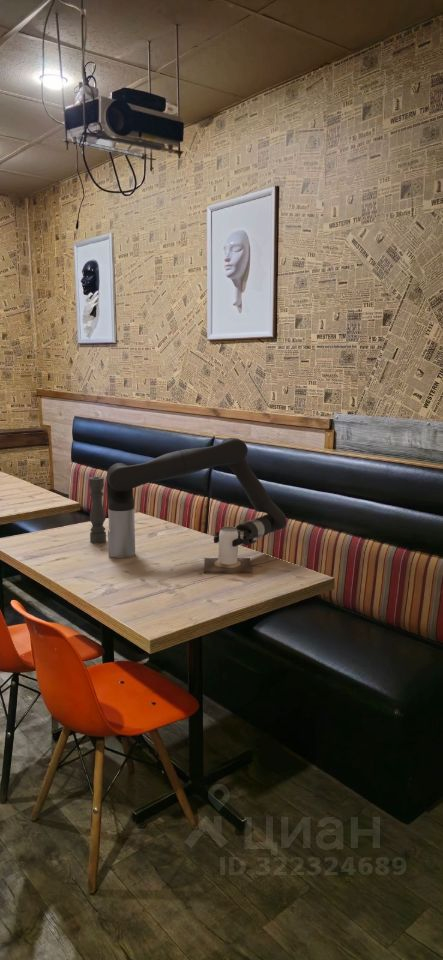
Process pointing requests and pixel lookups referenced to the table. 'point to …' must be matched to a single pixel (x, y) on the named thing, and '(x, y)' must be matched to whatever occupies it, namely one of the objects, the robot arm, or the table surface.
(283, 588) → the table surface
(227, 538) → the can
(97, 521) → the candle holder
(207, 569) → the rest board
